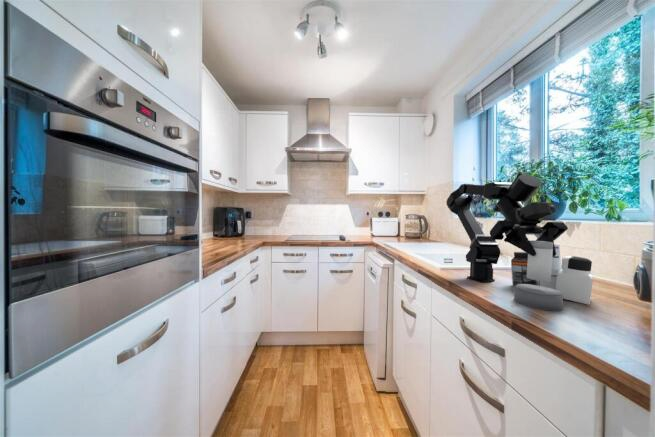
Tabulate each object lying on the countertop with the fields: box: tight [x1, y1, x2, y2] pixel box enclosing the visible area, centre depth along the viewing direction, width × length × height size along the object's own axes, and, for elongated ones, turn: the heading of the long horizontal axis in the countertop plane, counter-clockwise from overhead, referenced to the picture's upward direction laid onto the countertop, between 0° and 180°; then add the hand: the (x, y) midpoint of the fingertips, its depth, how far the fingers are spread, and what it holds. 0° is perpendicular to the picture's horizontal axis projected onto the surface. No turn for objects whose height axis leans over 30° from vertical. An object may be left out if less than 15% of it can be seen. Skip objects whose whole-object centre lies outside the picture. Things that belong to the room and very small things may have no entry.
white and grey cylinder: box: [527, 240, 553, 282], centre depth 68 cm, size 5×5×10 cm
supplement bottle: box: [510, 251, 535, 287], centre depth 84 cm, size 6×6×11 cm
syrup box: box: [535, 243, 562, 289], centre depth 80 cm, size 6×6×14 cm
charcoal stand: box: [513, 284, 564, 312], centre depth 68 cm, size 10×10×4 cm
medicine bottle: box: [555, 255, 594, 306], centre depth 73 cm, size 7×7×12 cm
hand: (544, 255), depth 66 cm, fingers closed on white and grey cylinder, 5 cm apart
